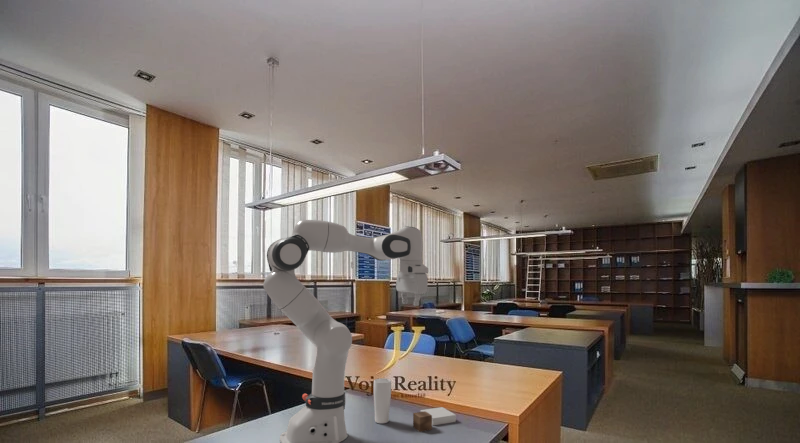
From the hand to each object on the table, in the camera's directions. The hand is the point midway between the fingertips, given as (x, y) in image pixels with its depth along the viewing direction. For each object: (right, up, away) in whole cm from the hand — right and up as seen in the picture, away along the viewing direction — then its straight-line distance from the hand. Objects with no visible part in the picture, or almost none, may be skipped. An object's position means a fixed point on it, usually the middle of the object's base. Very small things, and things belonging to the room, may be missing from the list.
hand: (410, 304), depth 160 cm
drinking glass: (-11, -44, -3) cm, 45 cm away
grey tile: (+11, -45, +1) cm, 46 cm away
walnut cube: (+4, -43, -9) cm, 44 cm away
